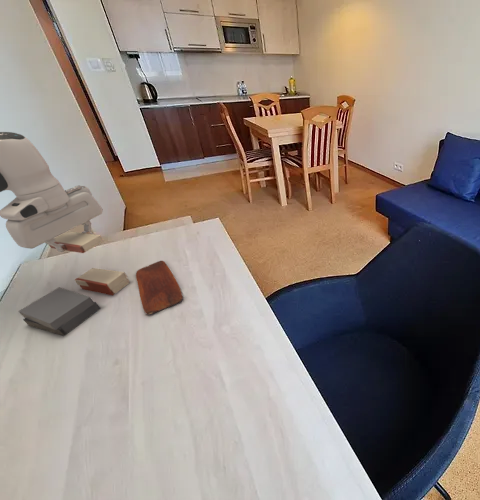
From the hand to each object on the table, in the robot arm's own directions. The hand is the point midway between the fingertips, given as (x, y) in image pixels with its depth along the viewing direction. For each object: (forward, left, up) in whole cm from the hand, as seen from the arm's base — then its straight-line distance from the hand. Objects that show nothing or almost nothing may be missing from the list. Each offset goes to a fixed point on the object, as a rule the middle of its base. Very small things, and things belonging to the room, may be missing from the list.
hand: (76, 243), depth 85 cm
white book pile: (0, 0, -16) cm, 16 cm away
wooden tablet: (+17, +4, -16) cm, 24 cm away
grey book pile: (+1, -13, -16) cm, 21 cm away
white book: (0, 0, 0) cm, 0 cm away
